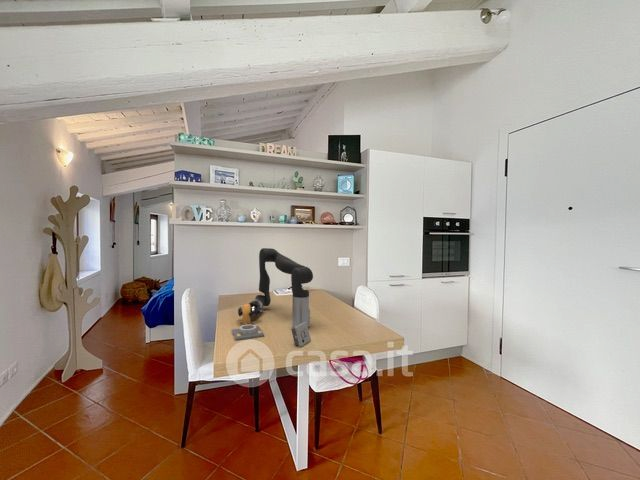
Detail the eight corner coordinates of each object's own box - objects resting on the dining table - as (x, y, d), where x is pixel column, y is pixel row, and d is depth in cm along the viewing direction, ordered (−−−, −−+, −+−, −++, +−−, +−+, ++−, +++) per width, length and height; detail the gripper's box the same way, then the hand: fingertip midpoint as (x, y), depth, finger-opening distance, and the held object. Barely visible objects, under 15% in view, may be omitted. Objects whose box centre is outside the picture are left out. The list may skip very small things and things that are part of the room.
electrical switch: (300, 347, 124) (299, 327, 124) (291, 346, 127) (290, 326, 127) (311, 341, 132) (309, 321, 133) (302, 340, 135) (300, 321, 135)
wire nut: (249, 322, 159) (249, 303, 159) (251, 324, 155) (251, 305, 155) (241, 323, 157) (241, 304, 157) (243, 325, 153) (243, 306, 153)
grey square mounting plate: (258, 327, 150) (258, 321, 150) (264, 336, 137) (264, 329, 137) (231, 331, 144) (231, 324, 144) (235, 340, 131) (235, 333, 131)
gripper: (243, 300, 171) (232, 307, 154) (266, 301, 169) (257, 308, 152) (243, 312, 171) (232, 320, 154) (265, 313, 169) (257, 321, 153)
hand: (244, 314), depth 153 cm, fingers open, 5 cm apart
